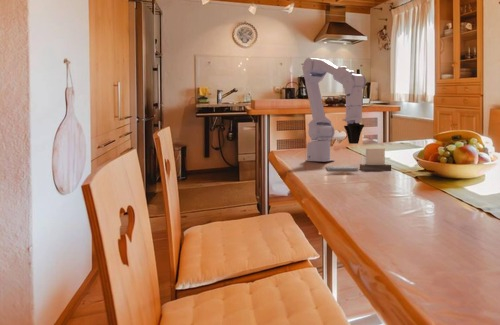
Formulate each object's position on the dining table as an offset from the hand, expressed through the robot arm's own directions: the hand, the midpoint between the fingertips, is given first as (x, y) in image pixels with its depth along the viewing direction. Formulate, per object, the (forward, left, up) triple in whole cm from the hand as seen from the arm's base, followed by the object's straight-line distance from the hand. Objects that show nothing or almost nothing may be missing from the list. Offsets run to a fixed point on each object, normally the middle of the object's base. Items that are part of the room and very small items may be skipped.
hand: (353, 143), depth 123 cm
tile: (-3, -3, -10) cm, 11 cm away
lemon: (+20, +15, -10) cm, 27 cm away
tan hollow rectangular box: (+6, +5, -10) cm, 13 cm away
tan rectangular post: (+6, +5, -10) cm, 13 cm away
